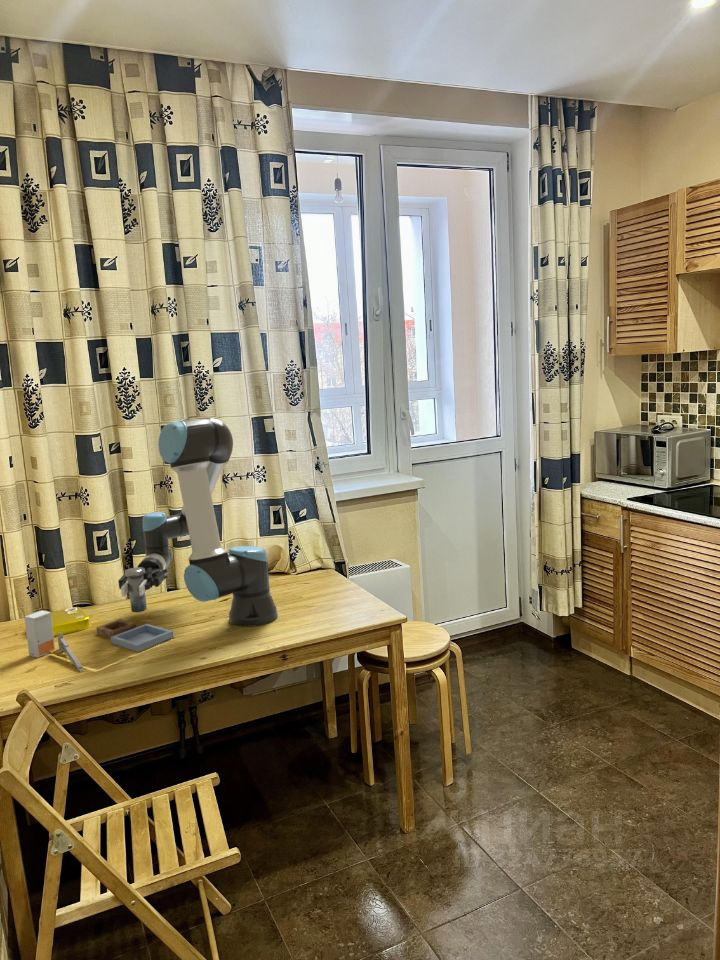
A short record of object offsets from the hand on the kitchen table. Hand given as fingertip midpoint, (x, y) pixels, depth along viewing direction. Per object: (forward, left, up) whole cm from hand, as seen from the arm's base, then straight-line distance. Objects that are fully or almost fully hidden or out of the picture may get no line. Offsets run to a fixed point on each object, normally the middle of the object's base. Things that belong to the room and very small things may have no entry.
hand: (131, 591), depth 213 cm
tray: (+3, -4, -17) cm, 18 cm away
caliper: (+9, +16, -18) cm, 25 cm away
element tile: (+37, +3, -18) cm, 41 cm away
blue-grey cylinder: (+4, -4, -7) cm, 9 cm away
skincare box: (+22, +17, -17) cm, 33 cm away
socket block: (+16, -4, -17) cm, 24 cm away
